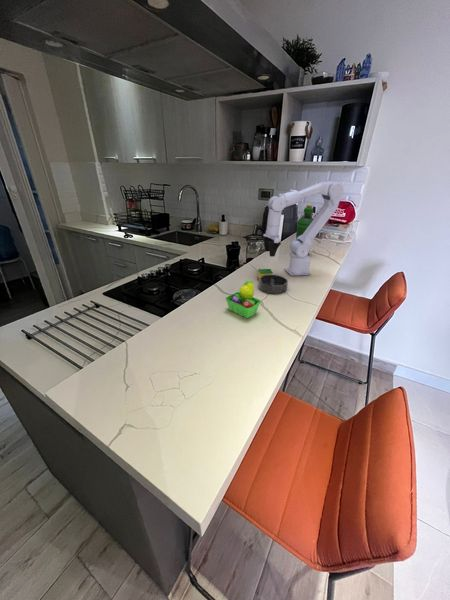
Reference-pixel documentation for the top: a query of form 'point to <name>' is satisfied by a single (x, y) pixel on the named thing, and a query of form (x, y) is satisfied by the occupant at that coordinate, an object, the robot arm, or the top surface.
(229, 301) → the fruit basket
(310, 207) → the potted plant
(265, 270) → the sponge
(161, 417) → the top surface
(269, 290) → the pan
